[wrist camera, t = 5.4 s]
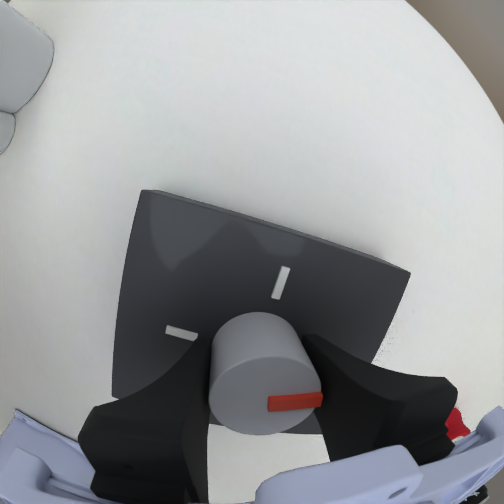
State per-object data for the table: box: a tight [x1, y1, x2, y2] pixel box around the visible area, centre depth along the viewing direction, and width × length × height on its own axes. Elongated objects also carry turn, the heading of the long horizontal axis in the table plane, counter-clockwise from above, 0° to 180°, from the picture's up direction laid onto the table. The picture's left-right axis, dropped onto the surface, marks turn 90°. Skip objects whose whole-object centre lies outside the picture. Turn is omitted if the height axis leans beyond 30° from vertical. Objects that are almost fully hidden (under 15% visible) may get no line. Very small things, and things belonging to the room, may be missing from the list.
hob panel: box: [112, 190, 411, 434], centre depth 13 cm, size 13×11×3 cm
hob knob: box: [208, 312, 323, 435], centre depth 10 cm, size 4×4×4 cm
